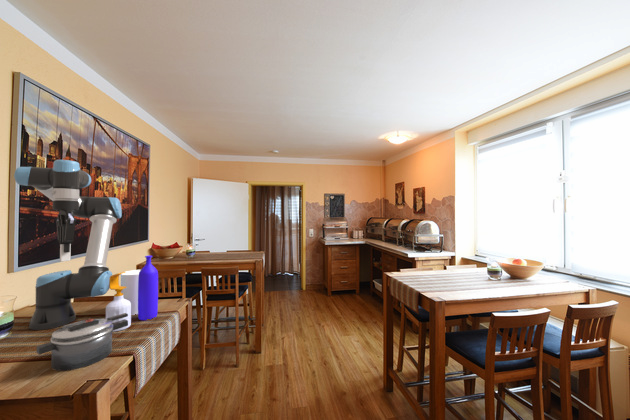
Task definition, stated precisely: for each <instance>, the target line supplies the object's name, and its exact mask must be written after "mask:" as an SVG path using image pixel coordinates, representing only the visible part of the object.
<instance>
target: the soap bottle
mask: <svg viewBox="0 0 630 420" xmlns="http://www.w3.org/2000/svg"><path fill="white" fill-rule="evenodd" d="M123 273H126V271H123V272H119V273H115V274H112V276H110V278H109V287H110V288H109V289H110V290H113V291H114V292H116V293H115V294H114V295H113V300H112V301H110V302H109V303H108V304H107V305H106V306H105V319H107V318H110V317H113V316H117V315H120V314H124V313H127V314H128V316H127V317H124V318H121V319H117V320H114V321H112V323H115V322H118V321H121V320H124V319H125V320H128V326H125V327H122V328H119V329H116V330H113V331H112V333H113V332H120V331H123V330H126V329H127V328H129V327H131V324H132V315H131V303H130V301H128V300H126V299H124V298H123V293H121V291H122V290H123V289H124V288H126V287H124V286H121V285H120V284H119V283H120V281H119V278H120V276H121V274H123Z"/></svg>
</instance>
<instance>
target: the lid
mask: <svg viewBox="0 0 630 420" xmlns="http://www.w3.org/2000/svg"><path fill="white" fill-rule="evenodd" d="M127 316H128V314H127V313H124V314H120V315H117V316H113V317H110V318H107V319H106V318H94V319H93V318H87V319H83V320H80V321H76V322H73V323H72V322H71V323H68V324H66V325H62V326H61V327H60V328H59V329H56V330H54V331H53V332H52V333H51V337H52V338H53V339H71V338H77V337H82V336H86V335H89V334H93V333H96V332H99V331H101V330H104V329H106V328H108V327H109V326H111V325H112V321H114V320H117V319H121V318H124V317H127Z"/></svg>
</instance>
